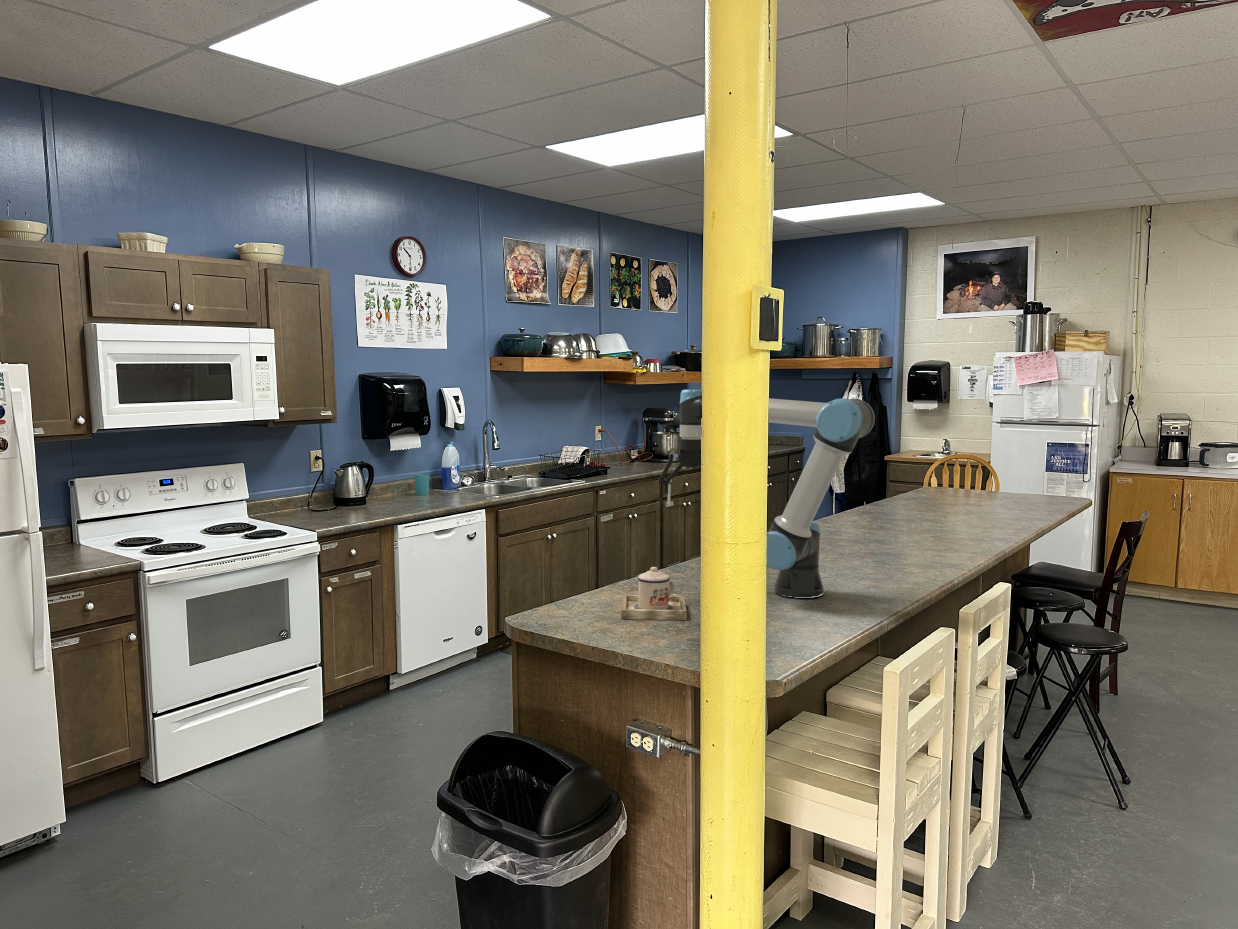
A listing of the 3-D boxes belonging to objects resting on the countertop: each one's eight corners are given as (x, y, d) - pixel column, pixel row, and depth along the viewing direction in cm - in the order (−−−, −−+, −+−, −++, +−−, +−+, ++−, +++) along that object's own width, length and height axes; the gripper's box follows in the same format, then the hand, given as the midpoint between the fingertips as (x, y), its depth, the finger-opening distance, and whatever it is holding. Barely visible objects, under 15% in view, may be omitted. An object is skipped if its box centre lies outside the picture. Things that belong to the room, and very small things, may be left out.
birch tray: (683, 604, 244) (683, 595, 244) (686, 620, 227) (686, 611, 227) (622, 603, 245) (622, 594, 244) (621, 619, 228) (621, 610, 228)
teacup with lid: (651, 613, 229) (651, 572, 228) (630, 606, 236) (631, 566, 235) (683, 607, 236) (684, 567, 235) (662, 600, 243) (663, 561, 242)
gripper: (729, 438, 264) (728, 503, 266) (651, 437, 265) (650, 502, 267) (732, 439, 257) (730, 507, 259) (652, 438, 257) (651, 506, 259)
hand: (690, 505), depth 263 cm, fingers open, 13 cm apart
